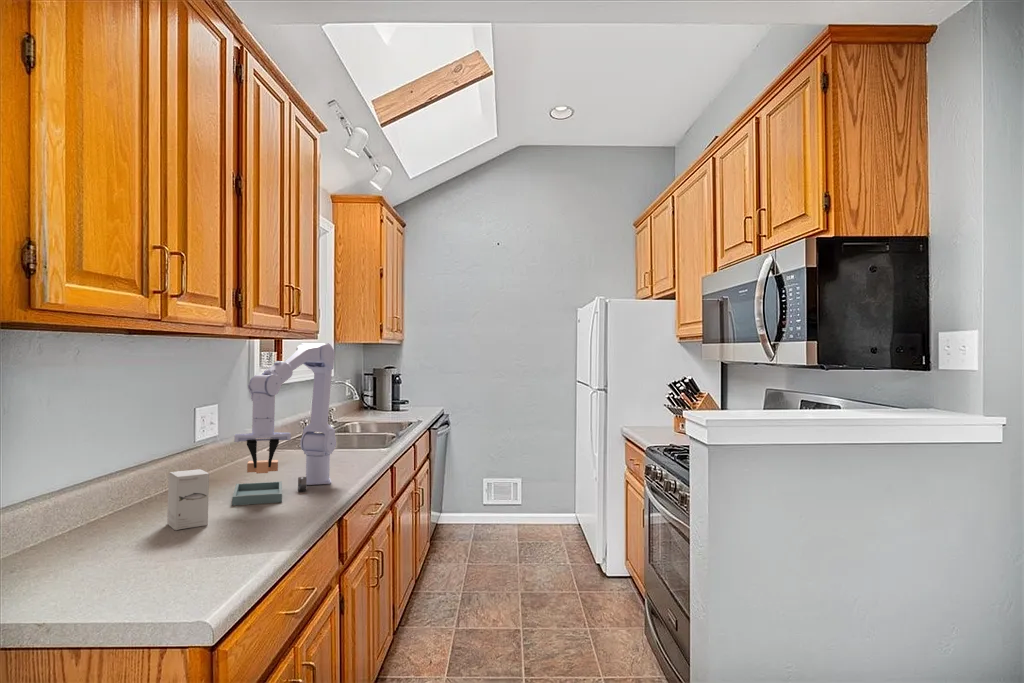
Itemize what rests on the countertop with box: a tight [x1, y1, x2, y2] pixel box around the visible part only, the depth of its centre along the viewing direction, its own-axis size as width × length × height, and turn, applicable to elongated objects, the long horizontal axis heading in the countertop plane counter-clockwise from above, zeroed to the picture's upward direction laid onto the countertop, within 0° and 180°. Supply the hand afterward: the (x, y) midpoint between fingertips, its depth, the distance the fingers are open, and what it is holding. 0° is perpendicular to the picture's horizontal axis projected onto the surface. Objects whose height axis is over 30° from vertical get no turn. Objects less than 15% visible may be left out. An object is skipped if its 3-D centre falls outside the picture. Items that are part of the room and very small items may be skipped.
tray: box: [231, 480, 283, 506], centre depth 181 cm, size 17×13×2 cm
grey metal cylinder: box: [297, 476, 307, 493], centre depth 189 cm, size 2×2×4 cm
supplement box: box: [166, 469, 210, 531], centre depth 153 cm, size 7×7×13 cm
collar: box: [246, 459, 279, 474], centre depth 180 cm, size 12×8×3 cm, turn 20°
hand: (262, 466), depth 176 cm, fingers closed on collar, 3 cm apart
